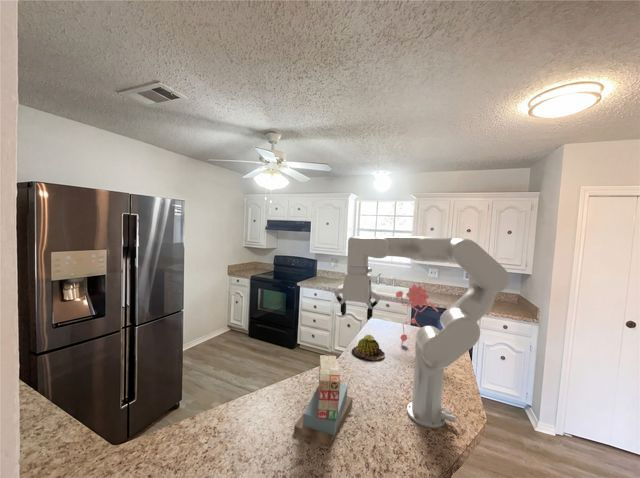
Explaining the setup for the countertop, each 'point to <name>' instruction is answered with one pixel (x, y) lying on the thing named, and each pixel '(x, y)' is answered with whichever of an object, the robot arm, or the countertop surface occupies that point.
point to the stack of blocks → (328, 388)
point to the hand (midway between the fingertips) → (356, 316)
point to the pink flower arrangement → (415, 303)
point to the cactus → (368, 349)
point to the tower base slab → (318, 435)
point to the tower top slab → (323, 424)
